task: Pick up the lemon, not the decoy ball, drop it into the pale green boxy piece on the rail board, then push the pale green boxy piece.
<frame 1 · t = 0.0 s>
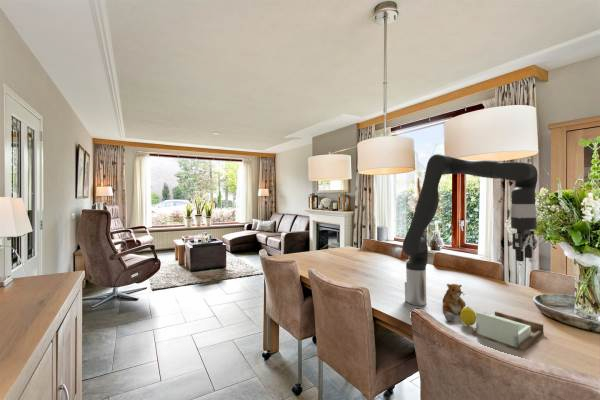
hand: (524, 259, 104), 29 cm above the table, fingers open, 8 cm apart
rail board: (507, 334, 107), on the table
lemon: (468, 326, 114), on the table
grey ball: (449, 321, 120), on the table
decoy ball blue: (483, 320, 120), on the table
pale green boxy piece: (503, 324, 105), point 5 cm above the table, slide at 7.0 cm
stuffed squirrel: (452, 311, 130), on the table
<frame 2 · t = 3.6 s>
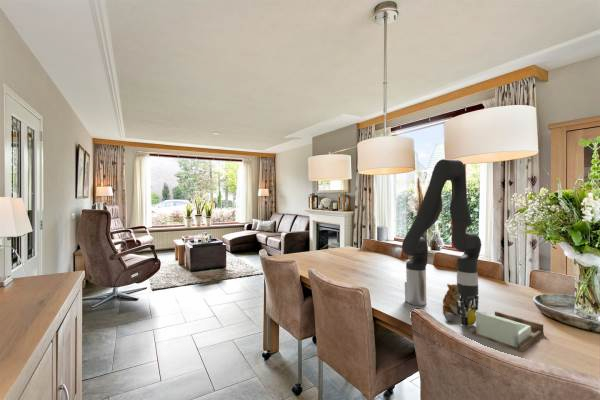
hand: (468, 323, 114), 1 cm above the table, fingers closed on lemon, 5 cm apart
lemon: (468, 326, 114), on the table, touching gripper
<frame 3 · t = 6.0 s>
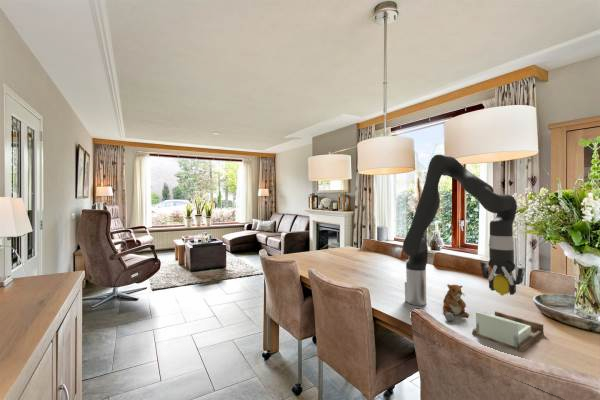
hand: (502, 292, 105), 17 cm above the table, fingers closed on lemon, 5 cm apart
lemon: (502, 296, 105), point 15 cm above the table, touching gripper
when the fingers open (5 cm above the table, at t = 8.6 s): lemon drops 2 cm, resting on pale green boxy piece.
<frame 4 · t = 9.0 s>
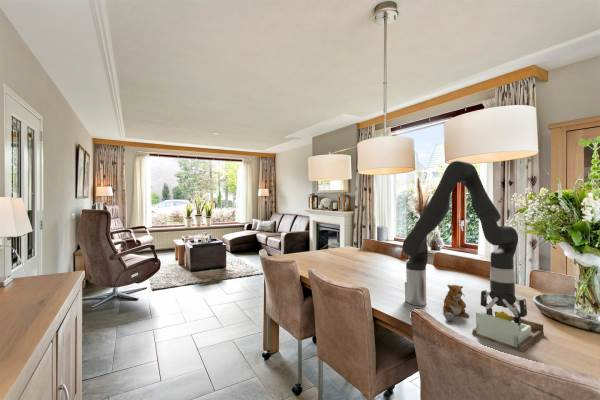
hand: (502, 322, 105), 6 cm above the table, fingers open, 8 cm apart
lemon: (503, 333, 105), point 1 cm above the table, touching pale green boxy piece
pale green boxy piece: (503, 324, 105), point 5 cm above the table, slide at 7.0 cm, touching lemon
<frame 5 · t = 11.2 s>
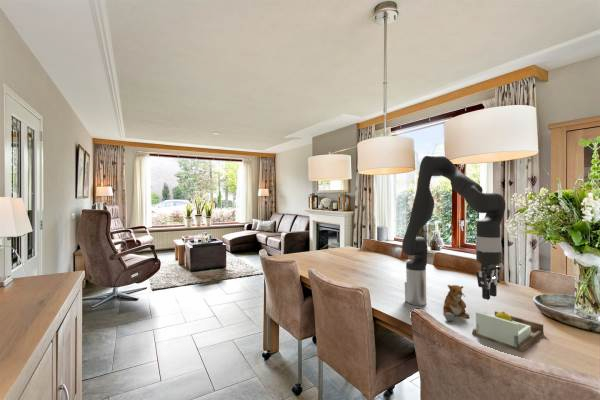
hand: (489, 297, 99), 17 cm above the table, fingers open, 4 cm apart
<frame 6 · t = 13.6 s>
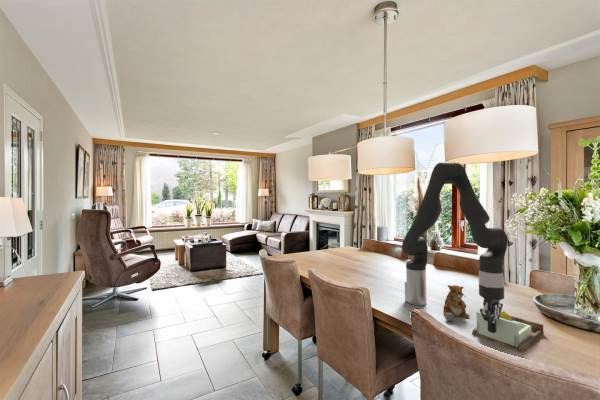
hand: (492, 331, 100), 4 cm above the table, fingers closed
pale green boxy piece: (503, 324, 105), point 5 cm above the table, slide at 6.6 cm, touching gripper, lemon
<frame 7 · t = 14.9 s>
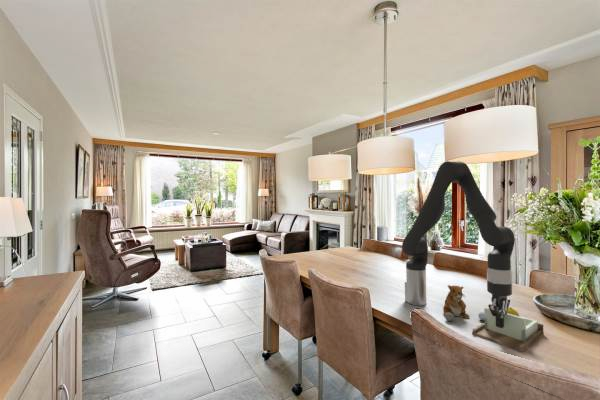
hand: (499, 327, 104), 4 cm above the table, fingers closed
lemon: (511, 328, 109), point 1 cm above the table, touching pale green boxy piece
pale green boxy piece: (510, 319, 109), point 5 cm above the table, slide at 0.0 cm, touching gripper, lemon
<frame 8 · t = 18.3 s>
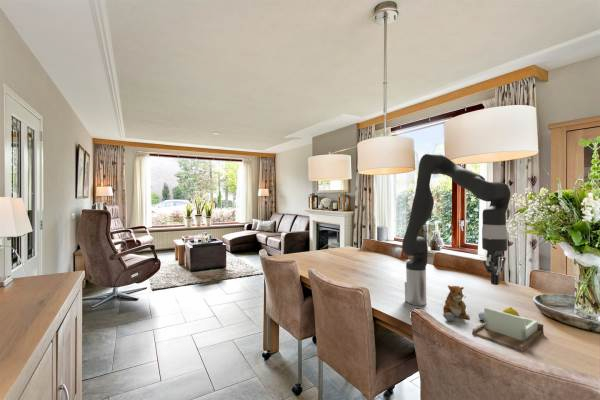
hand: (495, 284, 102), 21 cm above the table, fingers closed
pale green boxy piece: (510, 319, 109), point 5 cm above the table, slide at 0.0 cm, touching lemon
at the end: lemon inside the target area on the pale green boxy piece (0.1 cm from its centre), point 0.6 cm above the pale green boxy piece's base; pale green boxy piece slide at 0.0 cm; the gripper is holding nothing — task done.
